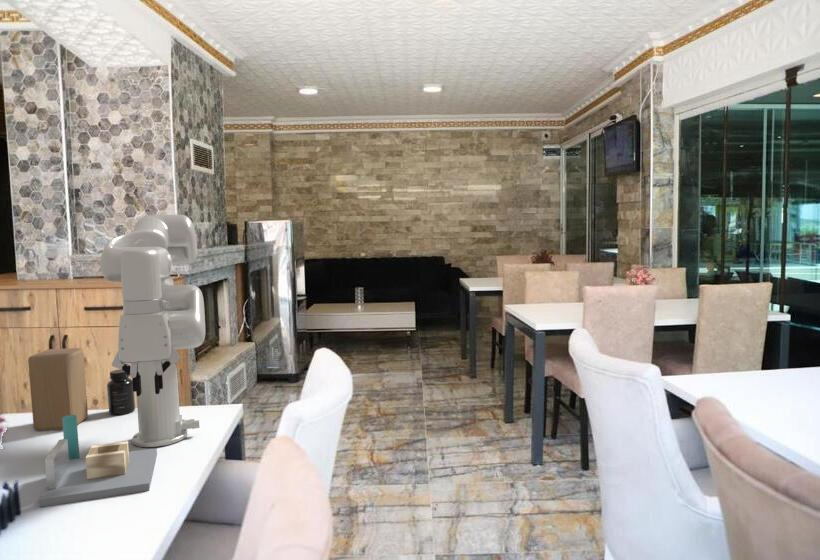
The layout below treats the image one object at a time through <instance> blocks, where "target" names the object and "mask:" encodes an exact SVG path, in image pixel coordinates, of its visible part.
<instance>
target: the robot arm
mask: <svg viewBox="0 0 820 560" xmlns="http://www.w3.org/2000/svg"><path fill="white" fill-rule="evenodd" d="M196 233H197V232H196V229H195V225H194V223H193V221H192V220H191V218H190V217H188V216H187V215H184V214H150V215H149V214H148V215H145V216H142V217H141V218H139V219H138V220H137V221H136V223H135V225H134V227H133V230H132V231H130V232H127V233H124V234H121V235H119V236H116V237H113V238H112V239H110V240H108V241H107V243H106V244H105V245H104V248H103V249H102V252H101V256H100V260H99V262H100V264H99V267H100V272H101V275H102V276H103V278H104V279H106V280H107V281H108V282H111V283H121V294H122V295H121V298H122V309H123V314H121V315H120V318H119V321H118V322H119V323H118V339H117V340H118V345H117V347H118V348H117V349H118V350H117V352H116V355H115V356H114V359H113V360H112V363H111V366H112V367H114V368H116V369H118V370H119V369H122V370H123V371H125V372H126V373H127V374H129V378H130V379H131V380H132V383H133V392H134V393H136V405H137V406H136V407H137V408H136V409H137V420H138V421H137V423H138V432H137V433H135V434H134V435H133V436H132V438H131V440H132V444H133V445H134V446H137V447H141V448H155V447H156V448H157V447H164V446H168V445H172V444H175V443H178V442H180V441H182V440H184V439H185V438H186V437H187V436H188V429H189V430H190V429H192V430H194V429H200V420H195V418H191V419H185V418H184V419H183V417H182V414H181V413H180V397H179V379H178V368H177V365H176V363H177V362H179V361H180V359H181V358H180V355H179V354H178V351H176V350H183V349H194V348H195V349H196V348H199V347H201V346H202V344H204V343H205V340H206V339H205V338H206V314H205V303H204V302H205V301H204V296H203V292H202V290H201V289H200V287H198V286H196V285H194V284H175V283H174V282H175V281H174V279H173V278H172V277H171V275H170V273H172V271H173V268H174V267H173V266H180V265H181V266H182V265H183V266H184V265H191V264H192V263H193V264H194V262H195V261H196V260H197V257H198V243H197V234H196Z"/></svg>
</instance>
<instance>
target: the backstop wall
mask: <svg viewBox="0 0 820 560" xmlns="http://www.w3.org/2000/svg"><path fill="white" fill-rule="evenodd" d="M44 467H45V479H46V487H47V490H52V489H56V488H57V486H58V485H59V483H60V481H61V480H62V478H63V476H64V474H65V473H66V471H67V469H68V467H69V454H68V441H67V439H64V438H63V439H59V440H58V441H57V442H56V444H55V446H54V447H53V448H52V449H51V451H50V452H49V453H48V455H47V457H46V458H45V460H44Z"/></svg>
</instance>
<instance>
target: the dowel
mask: <svg viewBox="0 0 820 560" xmlns="http://www.w3.org/2000/svg"><path fill="white" fill-rule="evenodd" d="M62 422H63V430H62V433H63V439H67V441H68V454H69V460H70V459H78V458H81V457H80V447H79V445H80V444H79V431H78V425H77V416H76V415H68V416H64V417H63V418H62Z"/></svg>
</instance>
